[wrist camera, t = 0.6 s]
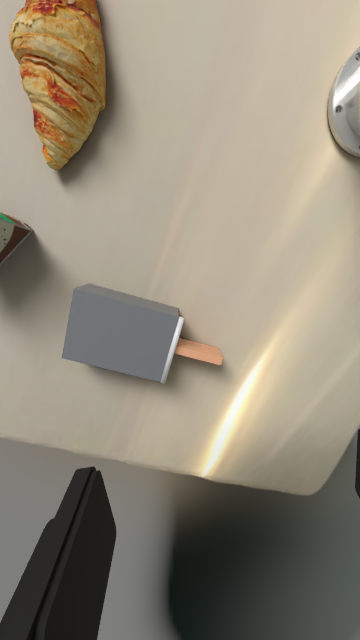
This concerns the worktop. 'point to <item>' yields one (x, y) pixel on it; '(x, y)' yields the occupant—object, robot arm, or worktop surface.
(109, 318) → the grey rectangular block
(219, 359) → the wooden craft stick
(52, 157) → the croissant
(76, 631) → the robot arm
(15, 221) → the food container
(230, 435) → the worktop surface
